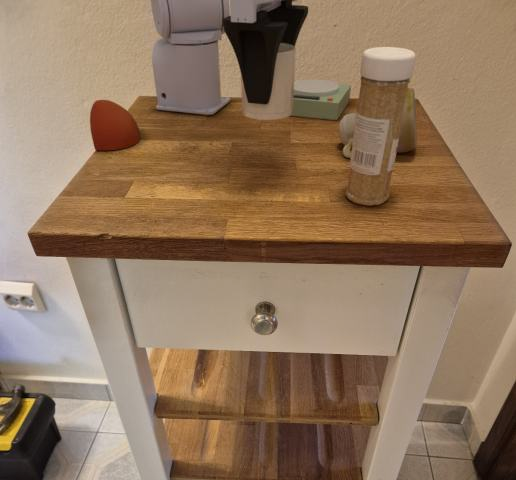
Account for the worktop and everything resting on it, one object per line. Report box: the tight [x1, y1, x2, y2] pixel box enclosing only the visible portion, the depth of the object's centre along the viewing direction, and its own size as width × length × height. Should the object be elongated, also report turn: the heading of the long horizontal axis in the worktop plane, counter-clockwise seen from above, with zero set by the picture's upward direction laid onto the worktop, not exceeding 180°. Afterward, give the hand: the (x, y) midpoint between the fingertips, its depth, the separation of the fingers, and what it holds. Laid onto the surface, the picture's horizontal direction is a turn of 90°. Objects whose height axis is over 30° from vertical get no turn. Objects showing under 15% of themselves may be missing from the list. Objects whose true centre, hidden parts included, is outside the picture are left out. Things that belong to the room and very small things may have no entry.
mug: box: [338, 87, 418, 159], centre depth 58 cm, size 8×10×10 cm
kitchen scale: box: [289, 78, 352, 121], centre depth 72 cm, size 10×10×3 cm
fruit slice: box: [89, 99, 141, 152], centre depth 62 cm, size 8×7×5 cm
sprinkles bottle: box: [345, 46, 416, 207], centre depth 45 cm, size 5×5×13 cm
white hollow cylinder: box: [240, 43, 296, 121], centre depth 48 cm, size 5×5×6 cm
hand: (267, 94), depth 49 cm, fingers closed on white hollow cylinder, 5 cm apart
